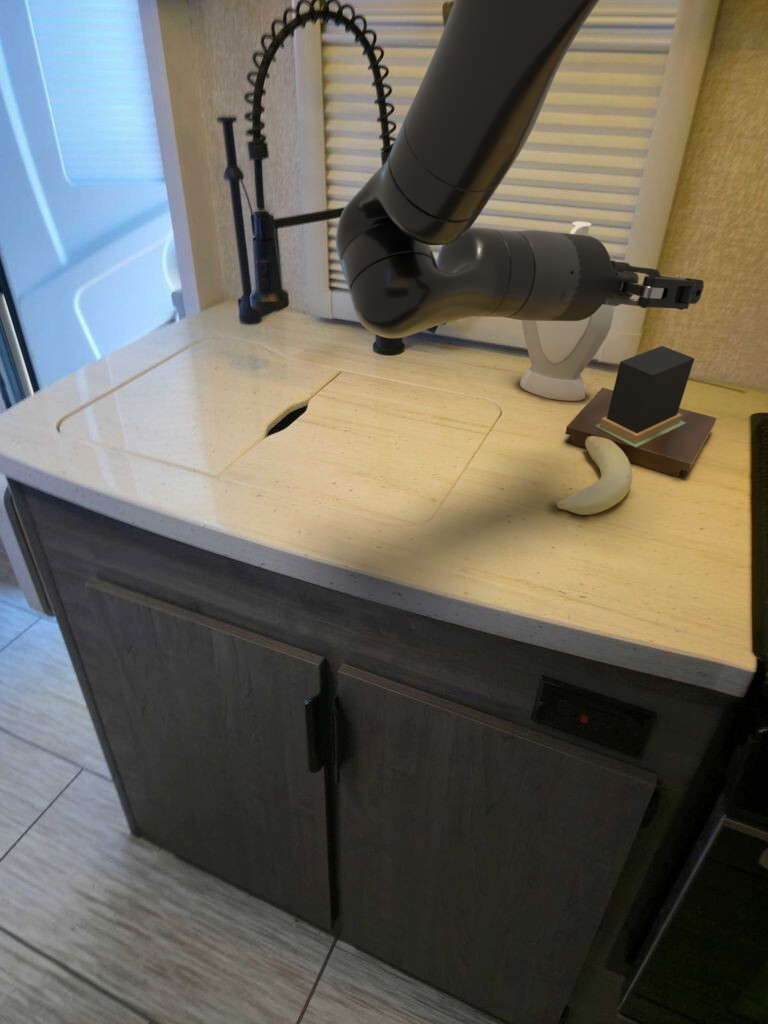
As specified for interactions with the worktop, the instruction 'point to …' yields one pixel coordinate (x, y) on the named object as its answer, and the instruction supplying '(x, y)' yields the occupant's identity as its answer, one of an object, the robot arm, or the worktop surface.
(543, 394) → the soap bottle
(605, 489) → the fruit
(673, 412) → the matte black box
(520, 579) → the worktop surface
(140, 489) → the worktop surface
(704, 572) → the worktop surface
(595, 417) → the wooden base
